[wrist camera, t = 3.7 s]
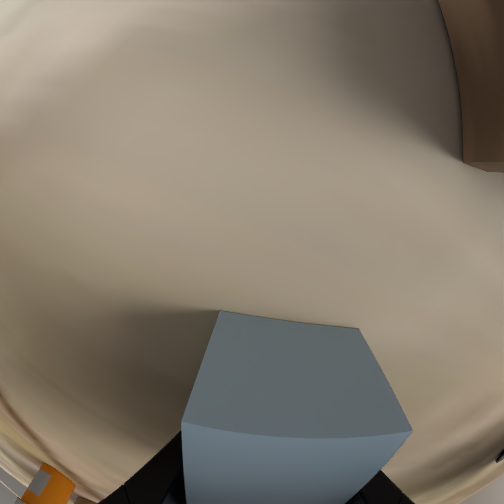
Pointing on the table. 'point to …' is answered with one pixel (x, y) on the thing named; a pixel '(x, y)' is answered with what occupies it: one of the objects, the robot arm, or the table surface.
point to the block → (479, 77)
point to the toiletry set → (50, 488)
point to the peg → (287, 415)
